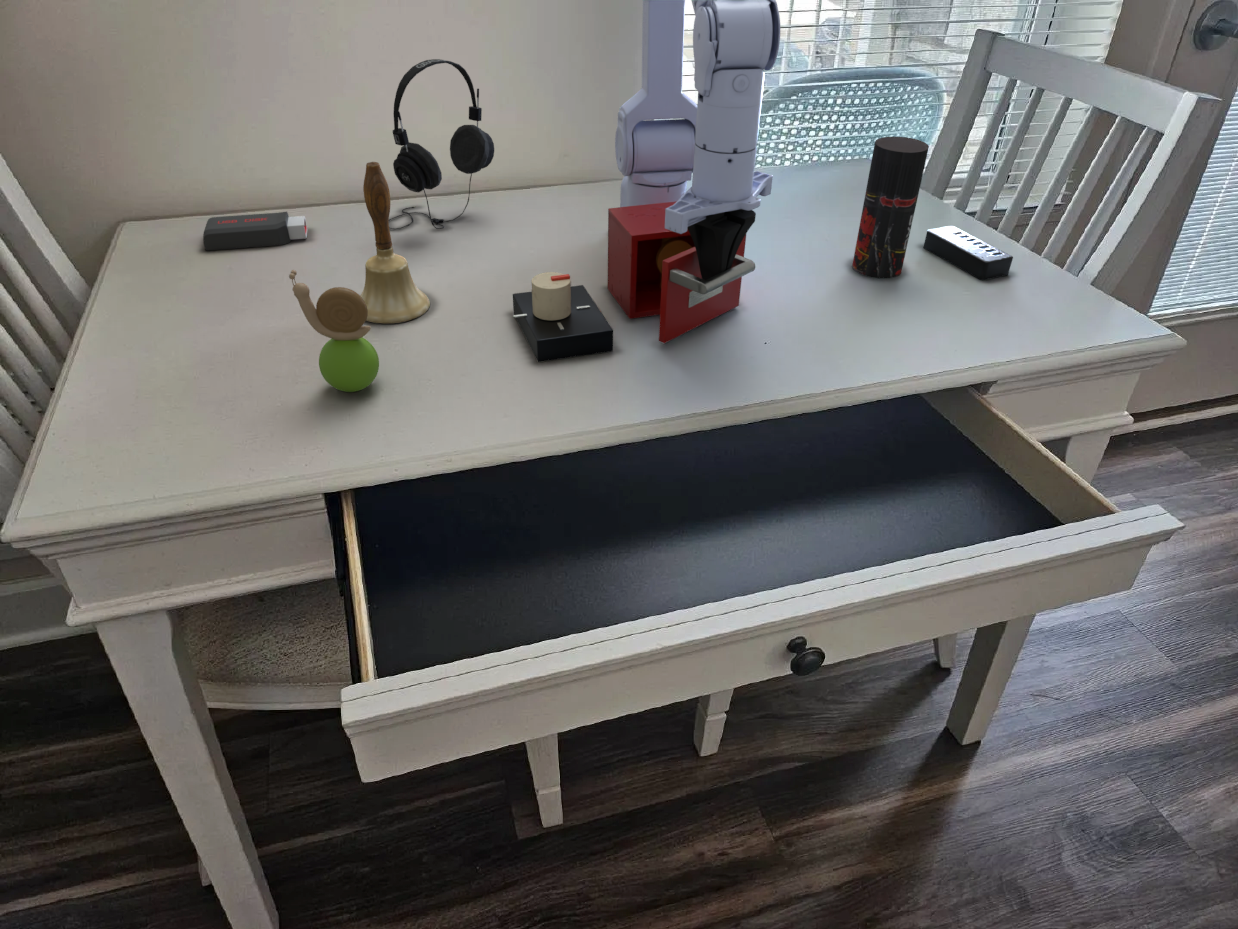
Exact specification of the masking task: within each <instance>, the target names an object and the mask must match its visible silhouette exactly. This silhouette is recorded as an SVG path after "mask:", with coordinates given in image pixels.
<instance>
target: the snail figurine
mask: <svg viewBox="0 0 1238 929" xmlns="http://www.w3.org/2000/svg"><path fill="white" fill-rule="evenodd" d="M297 273H298V272H297V271H296V270H295V269H291V270H290V273H289V274H288V278H289V280H291V283H292V286H293V287H292V292H293V296H294V297H295V298H296V299H297V301H298V305H299V307H300V309H301V311H302V313H303V315H304V317H305V319H306V321H307V323H308V324H309V325H310V326H311V328H312V329H313V330H314V331H315V332H317V334H319V335H321V336H323V337H326V338H329V340H328V341H327V342H326V343H325V344H323V347H322V348H321V349H320V353H319V357H318V367H319V371H320V374H321V376H322V378H323V379H324V380H325V382H326V383H327V384H328V385H329V386H330V387H332V388H334V389H335V390H338V391H341V392H344V393H345V392H347V393H354V392H359V391H361V390H364V389H366V388H367V387H369V386H370V385H371V384H373V382H374V381H375V379H376V377H377V375H378V374H379V370H380V359H379V354H378V352H377V350H376V348H375V346H373V345H374V344H372V343H371V342H370V341H369V340H368V339H366V338H364V337H365V336H366V335H367V334H368V333H369V332H370V331H371V329H372V327H371V325H364V324H365V323H366V322H367V321H366V320H367V316H368V310H367V305H366V303H365V301H364V300H363V298H362V297H361V296H360V295H361V294H359V293H358V292H357V291H355V290H352V289H351V288H348V287H344V286H343V287H342V286H336V287H331V288H329V289H326V290H324V292H322V293H321V294H320V296H319V297H318V299H317V301H316V306H315V304H314V302H313V301H312V299H311V296H310V294H311V293H310V292H311V291H310V288H309V286H308V285H307V284H306V283H303V282H296V275H298V274H297ZM294 283H295V284H294Z"/></svg>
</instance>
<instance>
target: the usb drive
mask: <svg viewBox="0 0 1238 929" xmlns="http://www.w3.org/2000/svg"><path fill="white" fill-rule="evenodd" d="M202 235H203V236H202V237H203V238H202V240H203V246H204V249H205V251H207V252H208V251H209V252H210V251H221V250H223V251H224V250H235V249H247V248H261V247H273V246H274V247H275V246H276V247H277V246H282V245H286V244H290V243H291V240H304V239H307V236H308V225H307V221H306V216H305V215H297V216H295V215H294V216H289V212H288V211H281V212H280V211H279V212H268V213H267V212H266V213H254V214H237V215H224V216H212V217H210V218H208V219H207V220H206V224H205V227H204V230H203V234H202Z"/></svg>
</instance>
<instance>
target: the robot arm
mask: <svg viewBox="0 0 1238 929" xmlns="http://www.w3.org/2000/svg"><path fill="white" fill-rule="evenodd" d="M690 1H691V4H692V8H693V12H694V16H695V17H694V21H693V29H692V51H693V61H694V76H693V81H694V88H695V90H696V91H697V102H695V101H694V100H693V99H691V98H690V97H689V96H688V95H687V94H685V93H684V92H683V73H684V72H683V70H684V41H685V40H684V38H685V15H686V14H685V12H686V11H685V10H686V0H642V14H641V15H642V18H641V19H642V20H641V22H642V24H641V25H642V26H641V88H640V89H639V90H638V91H637V92H636V93H634V94H633V95H632V96H631V97H630V98H629V99H627V100H626V101H625V102H624V103H623V104H622V105H621V106H620V107H619V109H618V111H617V123H616V130H615V138H614V148H615V161H616V166H617V169H618V171H619V172H620V173H621V174H622V176H623V177H622V180H621V183H620V191H619V192H620V194H619V197H620V198H619V207H628V206H637V205H647V204H657V203H666V202H676V201H677V202H676V203H675V204H674V205H672V206H670V207H668V208H666V210H665V229H668V230H670V231H673V232H676V233H679V234H683V233H685V232H687V229H688V231H689V233H690V235H691V237H692V240H693V242H694V245H695V248H696V252H697V256H698V261H699V266H700V272H701V277H702V279H704V280H707V279H709V278H711V277H713V276H715V275H718V274H720V273H722V272H724V271H726V270H728V269H730V268H731V266H732V264H733V261H734V258H735V255H736V253H737V250H738V248H739V246H740V244H741V242H742V240H743V238H744V236H745V235H746V236H747V233H748V231H749V230H750V229H751V228H752V226H753V224H755V222H756V217H757V213H756V211H755V209H757V208H759V207H760V206H761V200H762V199H761V198H760V197H759V196H761V197H767V196H770V195H771V193H772V188H773V187H772V186H773V180H774V179H773V178H774V175H773V174H769V173H766V172H762V171H759V170H756V171H755V169H756V168H755V166H756V159H757V150H758V141H759V140H758V139H759V132H760V122H761V111H762V103H763V94H764V84H765V75H766V74H765V72H764V71H766V72H767V71H770V70H771V69H772V68H773V67H774V65H775V63H776V61H777V58H778V54H779V51H780V50H779V49H780V45H781V44H780V43H781V16H780V12H779V7H778V3H777V2H778V1H777V0H690ZM688 181H689V182H690V181H691V187H689V188H688ZM687 188H688V189H687Z"/></svg>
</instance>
